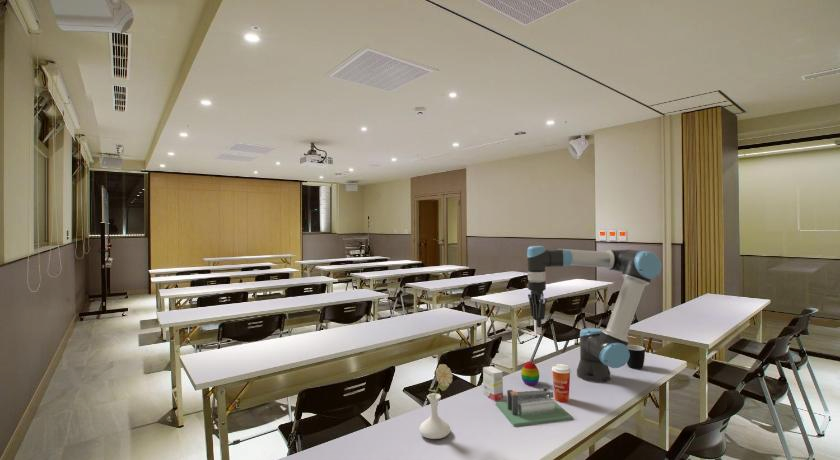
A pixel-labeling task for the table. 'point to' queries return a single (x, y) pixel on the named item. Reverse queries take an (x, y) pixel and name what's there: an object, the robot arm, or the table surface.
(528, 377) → the decorative egg
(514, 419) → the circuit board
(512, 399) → the lug posts
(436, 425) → the flower in vase
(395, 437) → the table surface
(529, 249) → the robot arm
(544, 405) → the block
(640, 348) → the mug
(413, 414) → the table surface
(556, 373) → the paper cup
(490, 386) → the ink box
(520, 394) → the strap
